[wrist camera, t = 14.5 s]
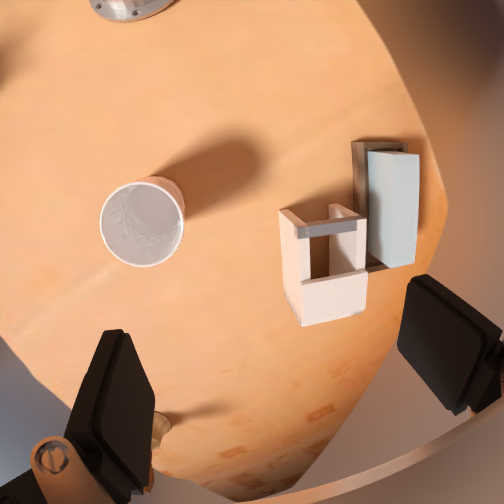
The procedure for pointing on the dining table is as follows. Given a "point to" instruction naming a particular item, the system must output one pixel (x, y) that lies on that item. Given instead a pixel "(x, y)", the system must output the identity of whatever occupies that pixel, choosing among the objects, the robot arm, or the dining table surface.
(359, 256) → the dispenser
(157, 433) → the hand bell
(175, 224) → the white cup
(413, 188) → the white rectangular block
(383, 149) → the tray
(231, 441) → the dining table surface
